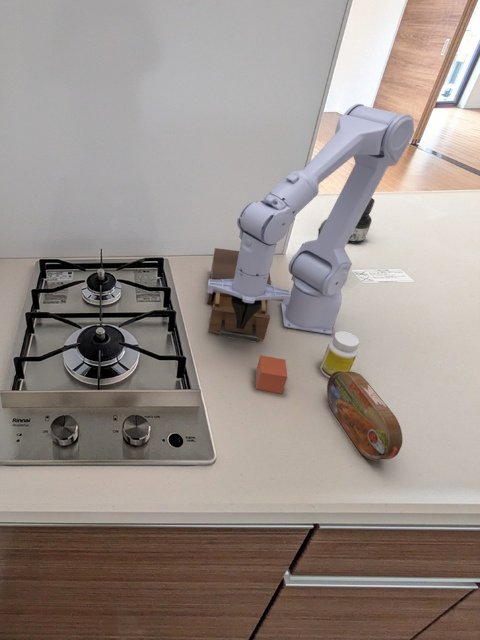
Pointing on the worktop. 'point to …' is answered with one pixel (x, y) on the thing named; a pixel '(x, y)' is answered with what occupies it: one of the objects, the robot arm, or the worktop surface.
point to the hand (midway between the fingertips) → (240, 325)
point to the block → (271, 374)
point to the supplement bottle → (340, 353)
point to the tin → (364, 416)
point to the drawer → (226, 320)
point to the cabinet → (225, 268)
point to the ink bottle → (362, 225)
